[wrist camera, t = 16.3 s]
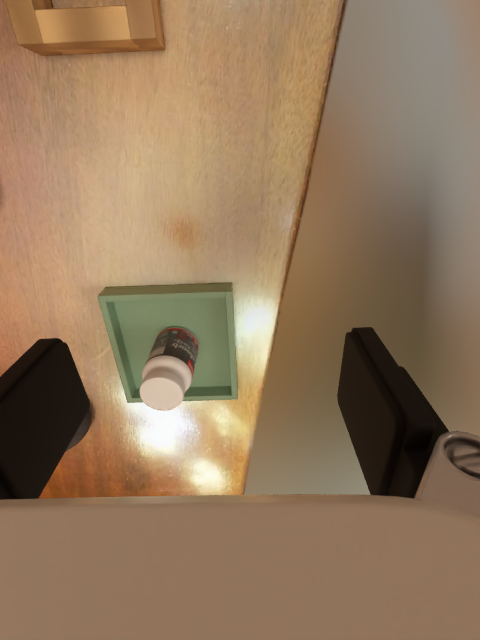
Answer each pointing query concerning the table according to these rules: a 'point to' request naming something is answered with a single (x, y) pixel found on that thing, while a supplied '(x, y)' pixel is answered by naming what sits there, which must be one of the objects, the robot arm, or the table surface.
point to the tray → (174, 311)
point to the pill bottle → (169, 369)
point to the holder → (87, 27)
